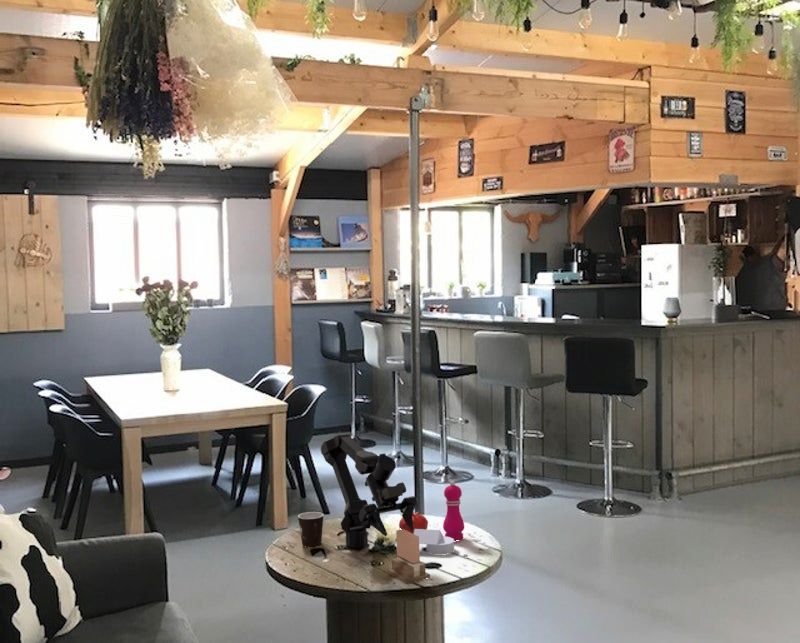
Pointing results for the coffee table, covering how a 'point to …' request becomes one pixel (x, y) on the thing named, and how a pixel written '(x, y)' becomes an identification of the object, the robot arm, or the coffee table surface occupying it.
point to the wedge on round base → (435, 541)
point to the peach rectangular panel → (408, 546)
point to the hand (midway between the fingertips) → (399, 532)
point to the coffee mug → (311, 528)
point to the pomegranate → (414, 523)
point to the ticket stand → (407, 570)
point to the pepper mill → (453, 513)
